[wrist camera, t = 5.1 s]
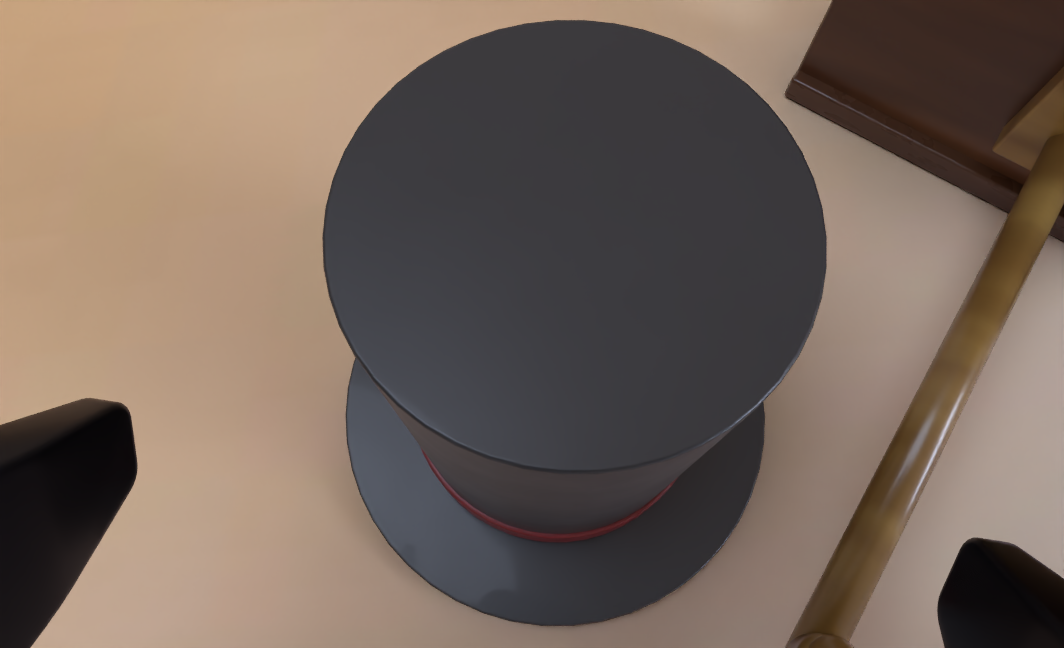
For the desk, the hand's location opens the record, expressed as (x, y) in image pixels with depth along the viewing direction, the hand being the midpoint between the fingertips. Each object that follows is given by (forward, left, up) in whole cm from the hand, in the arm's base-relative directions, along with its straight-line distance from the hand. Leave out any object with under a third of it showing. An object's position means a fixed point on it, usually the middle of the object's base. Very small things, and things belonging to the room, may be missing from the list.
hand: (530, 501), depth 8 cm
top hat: (0, +4, -11) cm, 11 cm away
